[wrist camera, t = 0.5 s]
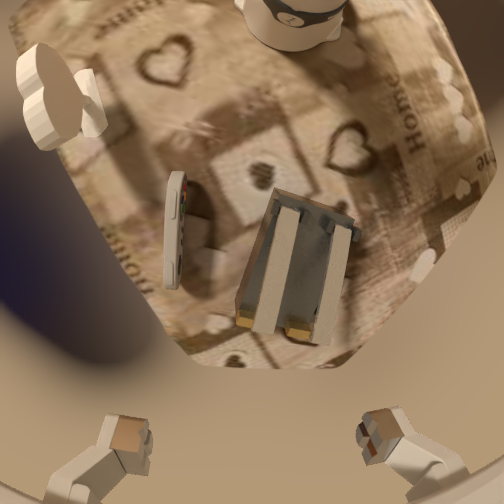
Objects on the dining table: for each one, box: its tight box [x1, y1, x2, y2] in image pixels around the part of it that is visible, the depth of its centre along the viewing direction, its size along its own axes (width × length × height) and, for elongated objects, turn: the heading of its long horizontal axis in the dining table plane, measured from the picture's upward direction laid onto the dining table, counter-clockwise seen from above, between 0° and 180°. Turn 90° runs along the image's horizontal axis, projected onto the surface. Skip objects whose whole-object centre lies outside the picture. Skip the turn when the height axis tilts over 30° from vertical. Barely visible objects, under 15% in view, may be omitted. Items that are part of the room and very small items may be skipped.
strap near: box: [251, 205, 300, 335], centre depth 43 cm, size 18×3×1 cm, turn 163°
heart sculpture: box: [16, 43, 108, 151], centre depth 33 cm, size 16×5×18 cm, turn 17°
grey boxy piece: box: [235, 187, 362, 340], centre depth 51 cm, size 22×15×8 cm
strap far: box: [310, 223, 352, 346], centre depth 44 cm, size 18×3×1 cm, turn 163°
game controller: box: [163, 171, 187, 290], centre depth 47 cm, size 20×2×8 cm, turn 173°
